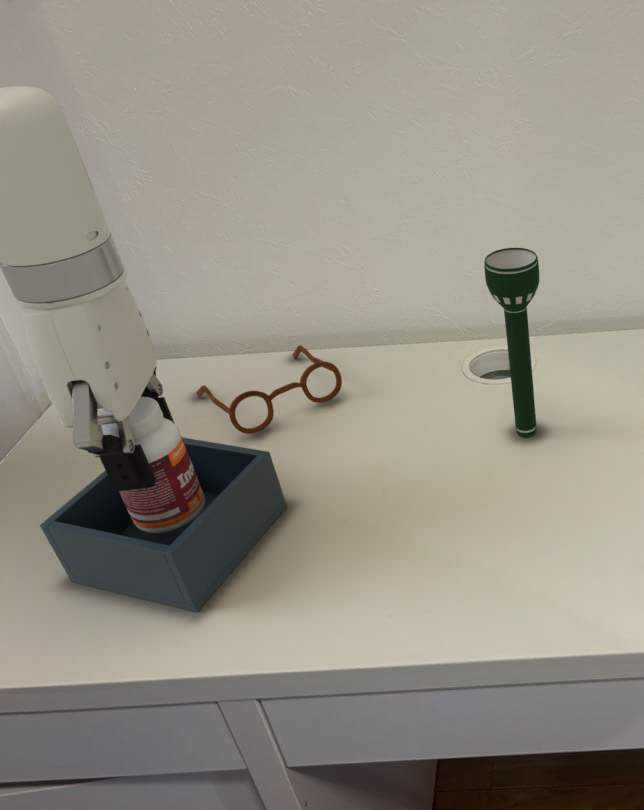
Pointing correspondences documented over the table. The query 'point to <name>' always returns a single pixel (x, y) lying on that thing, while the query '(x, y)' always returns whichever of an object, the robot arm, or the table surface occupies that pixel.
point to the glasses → (277, 393)
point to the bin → (175, 550)
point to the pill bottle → (161, 472)
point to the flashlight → (516, 323)
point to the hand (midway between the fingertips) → (148, 459)
